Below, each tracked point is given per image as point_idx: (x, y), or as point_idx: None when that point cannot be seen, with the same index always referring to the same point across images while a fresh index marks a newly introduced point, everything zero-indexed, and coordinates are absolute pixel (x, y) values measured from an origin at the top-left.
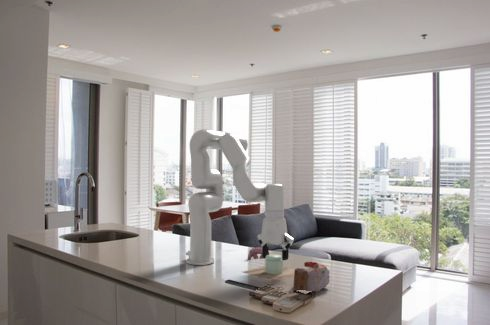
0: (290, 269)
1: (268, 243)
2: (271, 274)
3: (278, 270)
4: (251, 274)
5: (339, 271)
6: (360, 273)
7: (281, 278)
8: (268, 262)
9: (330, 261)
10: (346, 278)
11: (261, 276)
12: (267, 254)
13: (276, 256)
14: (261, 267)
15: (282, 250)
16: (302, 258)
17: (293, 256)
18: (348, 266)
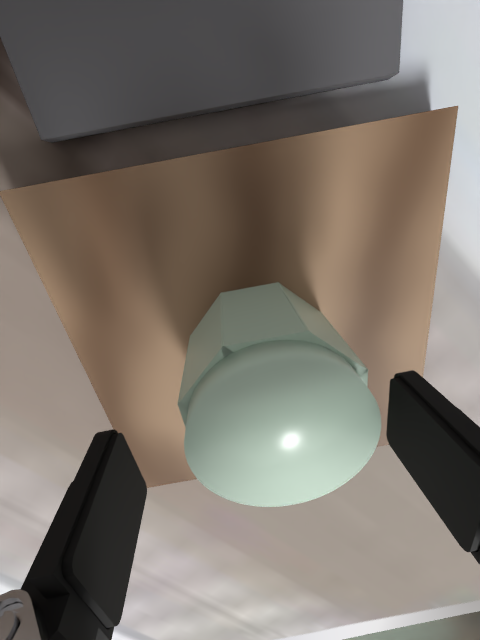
0: None
1: (419, 633)
2: (210, 284)
3: (188, 350)
4: (328, 130)
5: None
6: None
7: (59, 266)
8: (265, 326)
9: (270, 633)
10: (5, 558)
11: (207, 159)
12: (399, 440)
13: (251, 455)
14: (408, 355)
15: (52, 564)
16: (384, 598)
17: (435, 592)
18: (170, 637)
